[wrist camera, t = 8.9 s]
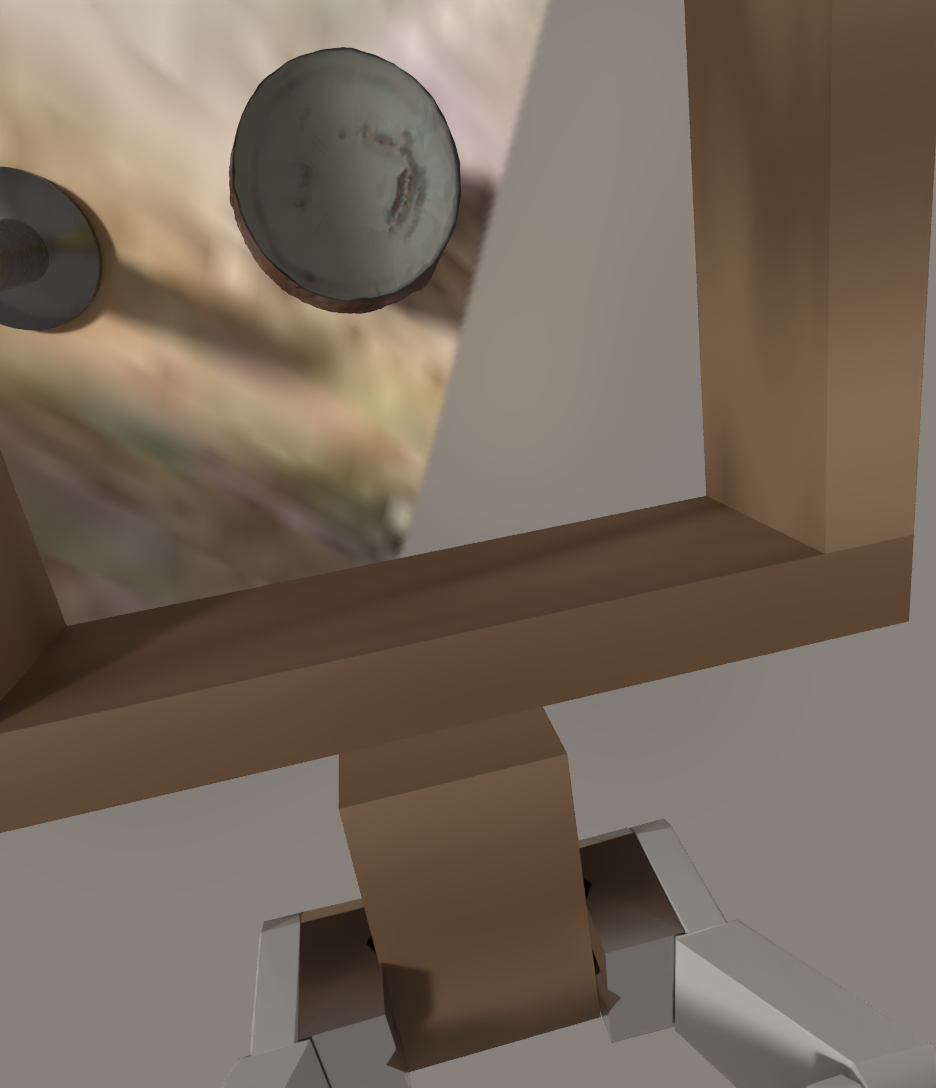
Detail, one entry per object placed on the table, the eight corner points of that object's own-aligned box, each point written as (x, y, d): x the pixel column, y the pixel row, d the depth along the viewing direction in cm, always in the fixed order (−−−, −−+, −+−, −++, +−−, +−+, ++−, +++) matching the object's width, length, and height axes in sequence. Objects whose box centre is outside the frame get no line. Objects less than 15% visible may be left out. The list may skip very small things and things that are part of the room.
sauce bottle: (445, 208, 31) (616, 217, 13) (347, 312, 32) (385, 448, 14) (332, 74, 28) (360, -135, 11) (228, 194, 29) (97, 186, 12)
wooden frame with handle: (-473, -426, 7) (-1547, -1409, 3) (763, -474, 8) (1139, -1174, 4) (97, 917, 12) (-16, 1194, 8) (777, 748, 13) (949, 917, 10)
